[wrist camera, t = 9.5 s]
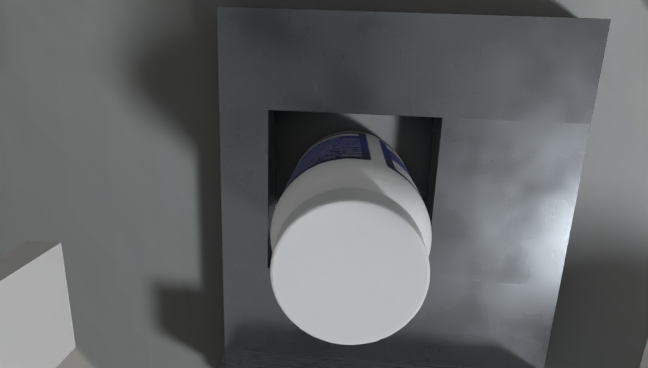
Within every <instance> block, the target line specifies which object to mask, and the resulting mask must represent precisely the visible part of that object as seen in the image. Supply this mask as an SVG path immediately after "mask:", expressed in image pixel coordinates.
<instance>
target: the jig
mask: <svg viewBox="0 0 648 368" xmlns="http://www.w3.org/2000/svg"><path fill="white" fill-rule="evenodd" d="M610 20H611V19H595V18H564V17H532V16H501V15H469V14H438V13H406V12H375V11H343V10H312V9H280V8H249V7H217V40H218V83H219V126H220V169H221V211H222V254H223V297H224V340H225V350H224V352H223V354H222V356H221V359H220V361H219V363H218V365H217V367H216V368H544V366H545V361H546V355H547V350H548V345H549V340H550V334H551V329H552V324H553V319H554V313H555V308H556V303H557V298H558V292H559V287H560V282H561V277H562V272H563V266H564V261H565V256H566V251H567V245H568V240H569V235H570V230H571V224H572V219H573V214H574V209H575V203H576V198H577V193H578V188H579V182H580V177H581V172H582V167H583V162H584V156H585V151H586V146H587V141H588V135H589V130H590V125H591V120H592V114H593V109H594V104H595V99H596V93H597V88H598V83H599V78H600V73H601V67H602V62H603V57H604V52H605V46H606V41H607V36H608V31H609V25H610ZM276 110H282V111H305V112H328V113H350V114H373V115H396V116H418V117H434V125H433V135H432V145H431V155H430V164H429V174H428V184H427V194H426V204H425V206H426V209H427V212H428V215H429V218H430V223H431V231H432V241H431V249H430V254H429V263H430V282H429V287H428V291H427V294H426V297H425V299H424V302H423V304H422V305H421V307H420V309H419V310H418V312H417V313H416V314H415V316H414V317H413V318H412V319H411V320H410V321H409V322H408V323H407V324H406V325H405V326H404V327H402V328H401V329H400V330H398V331H397V332H395V333H393V334H392V335H390V336H388V337H386V338H383V339H380V340H378V341H375V342H371V343H365V344H356V345H343V344H336V343H330V342H327V341H324V340H321V339H318V338H316V337H313V336H312V335H310V334H308V333H306V332H305V331H303V330H302V329H300V328H299V327H298V326H297V325H295V324H294V323H293V322H292V321H291V320H290V319H289V318H288V317H287V316H286V314H285V313H284V312H283V310H282V309H281V307H280V305H279V304H278V302H277V300H276V298H275V295H274V292H273V289H272V285H271V279H270V262H271V257H272V249H271V240H270V230H271V223H272V217H273V213H274V211H275V153H276Z"/></svg>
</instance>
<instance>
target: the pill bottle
mask: <svg viewBox="0 0 648 368" xmlns="http://www.w3.org/2000/svg"><path fill="white" fill-rule="evenodd" d="M270 240H271V249H272V257H271V262H270V279H271V285H272V289H273V292H274V295H275V298H276V300H277V302H278V304H279V305H280V307H281V309H282V310H283V312H284V313H285V314H286V316H287V317H288V318H289V319H290V320H291V321H292V322H293V323H294V324H295V325H297V326H298V327H299V328H300V329H302V330H303V331H305V332H306V333H308V334H310V335H312V336H313V337H316V338H318V339H321V340H324V341H327V342H330V343H336V344H343V345H356V344H365V343H371V342H375V341H378V340H380V339H383V338H386V337H388V336H390V335H392V334H393V333H395V332H397V331H398V330H400V329H401V328H402V327H404V326H405V325H406V324H407V323H408V322H409V321H410V320H411V319H412V318H413V317H414V316H415V314H416V313H417V312H418V310H419V309H420V307H421V305H422V304H423V302H424V299H425V297H426V294H427V291H428V287H429V282H430V263H429V254H430V249H431V241H432V231H431V223H430V218H429V215H428V212H427V209H426V206H425V204H424V201H423V199H422V197H421V195H420V194H419V191H418V190H417V188H416V186H415V184H414V182H413V180H412V178H411V176H410V174H409V172H408V170H407V169H406V167H405V165H404V163H403V161H402V160H401V158H400V157H399V155H398V154H397V153H396V152H395V150H394V149H393V148H392V147H391V146H390V145H388V144H387V143H386V142H384V141H383V140H381V139H379V138H378V137H376V136H373V135H371V134H368V133H364V132H358V131H343V132H337V133H333V134H330V135H328V136H325V137H323V138H321V139H320V140H318V141H317V142H315V143H314V144H313V145H312V146H310V147H309V148H308V150H307V151H306V152H305V153H304V154H303V156H302V157H301V158H300V160H299V162H298V164H297V166H296V168H295V170H294V172H293V174H292V175H291V177H290V179H289V181H288V183H287V185H286V187H285V189H284V191H283V193H282V195H281V196H280V198H279V201H278V203H277V205H276V208H275V211H274V213H273V217H272V223H271V230H270Z"/></svg>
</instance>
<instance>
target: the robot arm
mask: <svg viewBox="0 0 648 368" xmlns="http://www.w3.org/2000/svg"><path fill="white" fill-rule="evenodd" d="M74 348H75V340H74V332H73V325H72V318H71V311H70V304H69V297H68V290H67V282H66V275H65V268H64V261H63V254H62V247H61V243H60V242H44V241H27V242H25V243H23V244H21V245H20V246H18V247H16V248H14V249H13V250H11V251H9V252H7V253H5V254H4V255H2V256H0V368H56V367H57V366H58V365H59V364H60V363H61V362H62V361H63V359H64V358H66V356H67V355H68V354H69V353H70V352H71V351H72V350H73V349H74ZM640 368H648V339H647V342H646V346H645V349H644V353H643V357H642V360H641V364H640Z"/></svg>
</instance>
